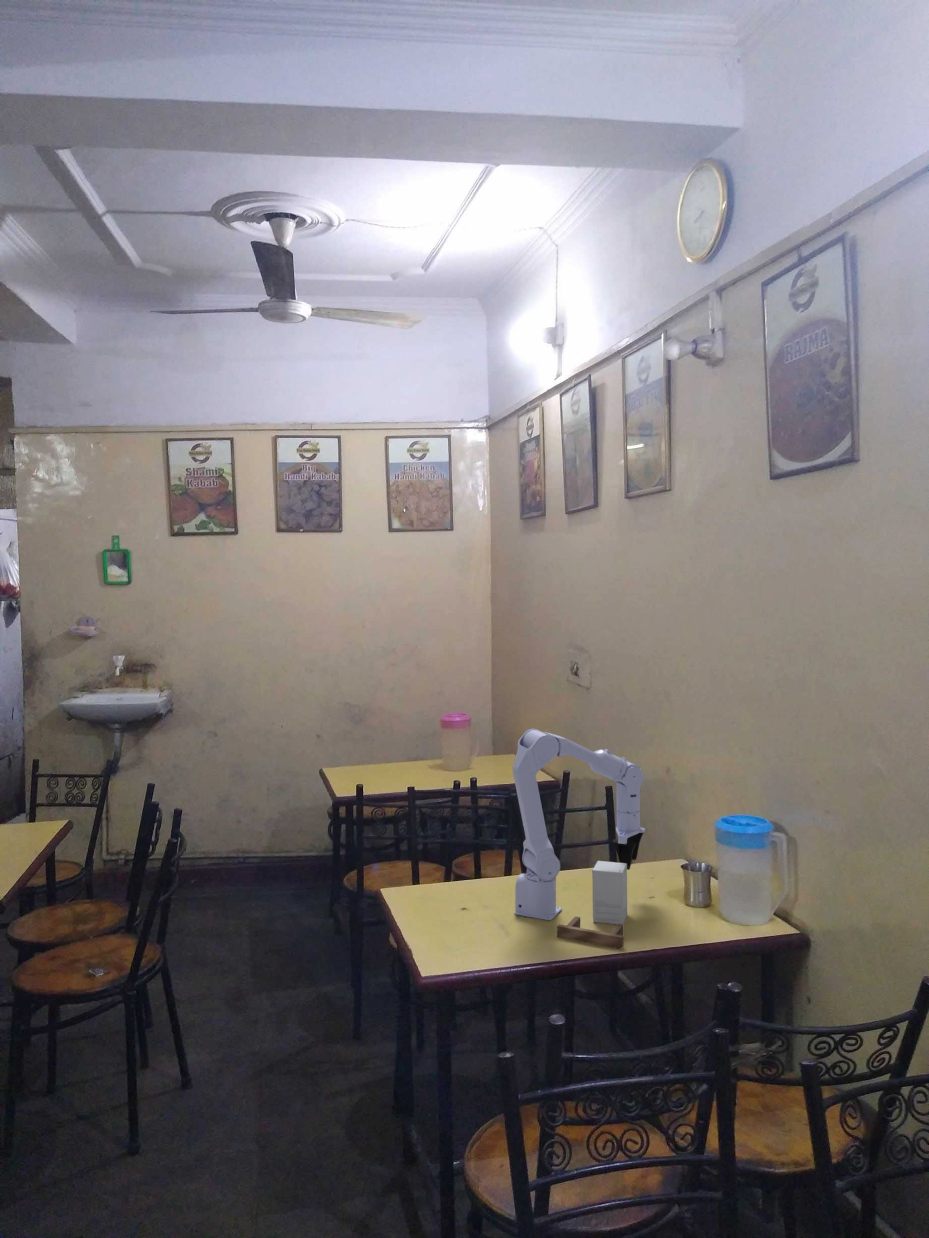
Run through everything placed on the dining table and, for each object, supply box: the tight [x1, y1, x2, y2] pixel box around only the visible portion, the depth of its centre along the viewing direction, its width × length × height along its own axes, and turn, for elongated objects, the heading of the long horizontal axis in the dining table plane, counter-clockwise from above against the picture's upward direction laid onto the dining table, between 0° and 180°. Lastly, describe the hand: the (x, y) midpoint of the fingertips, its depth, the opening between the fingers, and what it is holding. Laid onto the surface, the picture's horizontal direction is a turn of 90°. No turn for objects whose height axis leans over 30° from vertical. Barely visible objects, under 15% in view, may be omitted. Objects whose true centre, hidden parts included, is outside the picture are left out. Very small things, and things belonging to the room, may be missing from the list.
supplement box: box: [591, 860, 628, 926], centre depth 212 cm, size 7×7×13 cm
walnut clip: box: [556, 916, 624, 949], centre depth 202 cm, size 15×7×2 cm, turn 63°
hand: (628, 864), depth 223 cm, fingers open, 7 cm apart
